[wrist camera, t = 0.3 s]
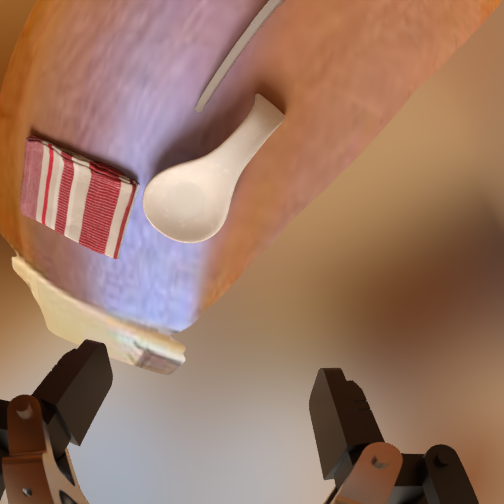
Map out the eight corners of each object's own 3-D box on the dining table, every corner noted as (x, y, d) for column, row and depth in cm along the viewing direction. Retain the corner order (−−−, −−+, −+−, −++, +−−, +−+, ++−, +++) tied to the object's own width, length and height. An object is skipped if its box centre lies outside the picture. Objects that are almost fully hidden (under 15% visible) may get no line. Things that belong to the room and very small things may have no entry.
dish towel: (32, 131, 31) (23, 136, 29) (143, 178, 38) (136, 185, 35) (26, 209, 40) (18, 216, 38) (119, 257, 47) (114, 266, 44)
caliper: (284, -11, 21) (290, -26, 16) (292, -6, 21) (299, -21, 16) (194, 109, 31) (182, 117, 26) (201, 113, 32) (190, 122, 27)
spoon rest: (198, 243, 44) (189, 272, 38) (138, 202, 40) (119, 227, 34) (304, 131, 33) (314, 145, 27) (234, 73, 29) (228, 73, 23)
